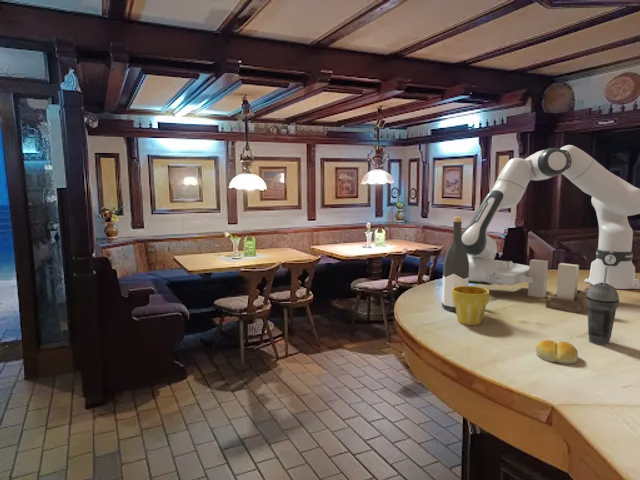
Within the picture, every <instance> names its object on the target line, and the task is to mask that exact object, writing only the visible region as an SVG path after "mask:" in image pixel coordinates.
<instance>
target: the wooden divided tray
mask: <svg viewBox="0 0 640 480" xmlns="http://www.w3.org/2000/svg"><path fill="white" fill-rule="evenodd" d="M592 286H593V284H590V285H589V286H588V287H585V288H584V289H583V290H580V289H579V290H578V289H577V300H576V301H574V300H568V299H562V298H556V294H557V293H554V294H553V295H552V296H550V297H547V298H546V299H545V308H546V309H553V310H557V311H558V310H559V311H565V312H569V313H574V314H580V315H581V314H583V313H584V312H585V311H586V310H588V305H587V298H586V296H587V293H588V290H589V289H590V288H591V287H592Z"/></svg>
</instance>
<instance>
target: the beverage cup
mask: <svg viewBox="0 0 640 480" xmlns="http://www.w3.org/2000/svg"><path fill="white" fill-rule="evenodd" d="M607 268H608V267H605V273H604V282H603V283H597V284H595V285H593V284H592V285H593V286H592V287H591V288H590V289H589V290H588V293H587V296H586V298H587V305H588V309H587V328H588V329H587V330H588V331H587V333H588V335H587V336H588V342H589V343H591V344H594V345H598V346H608V345H610V341H611V337H612V334H613V333H612V332H613V328H614V321H615V317H616V311H617V309H618V306H619V302H620V299H619V298H620V296H619V292H618V291H617V290H616V289H615V288H614V287H613V286H611V285H609V284H607V283H606V276H607Z"/></svg>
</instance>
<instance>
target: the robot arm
mask: <svg viewBox="0 0 640 480" xmlns="http://www.w3.org/2000/svg"><path fill="white" fill-rule="evenodd" d="M560 175H562V176H564V177H565V178H567V179H568V180H569V181H570V182H571V183H572V184H574V186H576V187H577V188H578V189H579V190H581V191H582V192H583V193H585V194H587V195H589V196H590V197H591V200H590V201H591V205H592V206H593V208H594V210H595V212H596V214H595V215H596V218H597V223H598V245H597V247H598V248H596V252H595V255H596V256H595V258H596V259H594V260H592V261H591V264H590V270H589V277H588V278H585V279H584V282H585V283H589V284H590V285H595V284H597V283H603V282H604V273H605V267H608V268H607V276H606V283H607V284H609V285H611V286H613V287H614V288H615V289H618V290H619V289H620V290H628V289H629V290H630V289H633V290H640V280H639V279H637V278H638V276H637V275H635V274H636V266H635V265H634V263H633V262H632V260H633V256H634V255H633V251H632V248H633V237H634V231H633V228H632V227H631V225H630V223H629V220H628V219H629V218H628V217H630V216H631V217H632V216H635V215H640V188H639V187H636V186H634V185H633V184H631V183H629V182H628V181H626V180H624V179H622V178H621V177H619V176H618V175H616V174H614V173H612V172H611V171H610V170H608V169H607V168H606V167H604V166H603V165H602V164H601V163H599V161H597V160H596V159H594V158H593V157H592V156H591V155H589V154H588V153H587V152H585V151H584V150H583V149H581V148H579V147H577V146H575V145H574V144H573V145H572V144H567V145H564V146H562V147H560V148H557V147H549V148H546V149H542V150H539V151H536V152H535V153H533V154H529V155H527V156H526V157H525V158H521V157H514V158H510V159H509V160H508V161H507V162H506V163H505V165H504V167H502V169H501V171H500V173H499V175H498V176H497V179H496V181H495V182H494V184H493V186H492V189H491V190H490V191H489V193H487V194H486V196H485V198H483V200H482V202H481V204H480V205H479V207H478V208H477V211H476V212H475V214H474V216H473V218H472V220H471V221H470V222H469V224H468V225H467V226H466V227H465V228H464V229H463V230H461V242H462V244H463V246H464V248H465V250H466V253H467V256H468V260H469V278H468V279H469V280H473V281H485V282H487V283H490V284H494V285H500V286H503V285H507V286H514V285H517V284H519V283H532V282H534V277H529V265H526V264H521V263H516V262H515V263H514V262H513V261H512V260H498V259H495V258H496V257H497V254H498V244H497V242H496V241H495V240H494V239H493V238H492V237H491V236H489V235H488V234H487V233H488V232H487V231H488V229H489V227H490V225H491V223H492V222H493V219H494V217H496V214H497V213H498V212H499V211H500V210H503V209H511V208H514V207H516V206H517V205H518V204H519V203H520V202H521V200H522V197H523V196H524V194H525V192H526V189H527V187H528V184H529V183H530V182H539V181H545V180H548V179H551V178H554V177H558V176H560ZM487 283H486V284H487Z"/></svg>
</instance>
